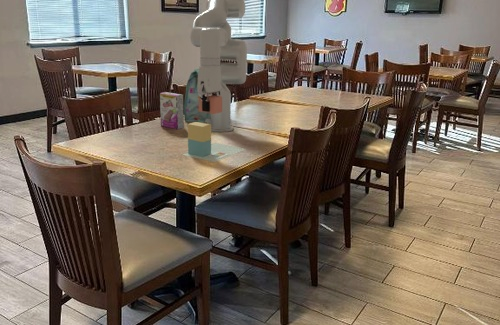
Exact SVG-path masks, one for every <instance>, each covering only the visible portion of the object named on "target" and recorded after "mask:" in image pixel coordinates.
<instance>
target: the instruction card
mask: <svg viewBox="0 0 500 325" xmlns="http://www.w3.org/2000/svg"><path fill="white" fill-rule="evenodd" d="M228 155H229V154H225V153H221V152H215V153H212V154H210V155H208V156H211V157H216V158H223V157H225V156H228Z"/></svg>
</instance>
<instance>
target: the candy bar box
mask: <svg viewBox="0 0 500 325" xmlns="http://www.w3.org/2000/svg"><path fill="white" fill-rule="evenodd" d="M159 109H160V111H159V112H160V115H159V116H160V127H163V128H168V129H174V130H181V129H184V128H185V120H184V94H180V93H173V92H167V91H164V92H160V93H159Z"/></svg>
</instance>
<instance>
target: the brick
mask: <svg viewBox="0 0 500 325" xmlns="http://www.w3.org/2000/svg"><path fill="white" fill-rule="evenodd" d="M205 96H206V95H205ZM209 101H210V111H209V112H206V111H202V101H201V98H200V96H199V112H205V113H212V114H216V113H220V112H222V97H221V96H214V95H209Z"/></svg>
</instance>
